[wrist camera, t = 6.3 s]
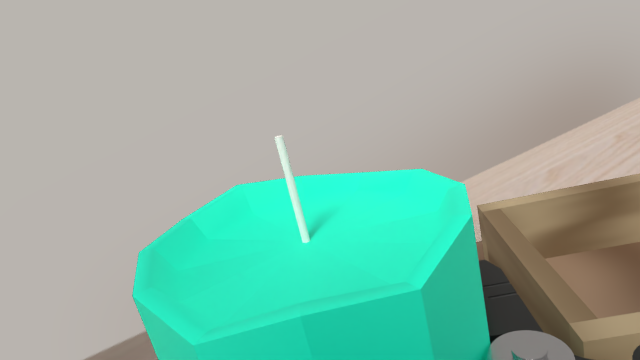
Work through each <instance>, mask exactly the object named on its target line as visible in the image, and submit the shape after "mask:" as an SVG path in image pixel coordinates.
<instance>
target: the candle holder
mask: <svg viewBox="0 0 640 360" xmlns="http://www.w3.org/2000/svg"><path fill="white" fill-rule="evenodd" d="M477 208H478V215H479V222H480V229H481V237H482V241H481V242H476V246H477V253H478V260H479V261H480V260H487V261H488V262H490V263H492V264H494V265H495V266H497V267H499V268H501V270H502V271H503V273H504V274H505V276H506V277H507V279H508V280H509V282H510V284H512V286H513V287H514V289H515V290H516V292H517V295H519V296H520V298H521V299H522V301H523V302H524V304H525V305H526V307H527V308H528V310H529V311H530V313H531V314H532V316H533V317H534V319H535V320H536V322H537V323H538V325H539V326H540V328H541V329H542V331H543V332H544V333H546V334H550V335H552V336H554V337H556V338H558V339H560V340H561V341H563V342H564V343H565V344H566V345H567V346H568V347H569V348H570V349H571V350H572V352H573V354H574V355H576V356H580V357H583V358H588V359H593V360H632V355H633V352H634V350H635V349H636V348H637V347H638V346H639V345H640V174H635V175H630V176H625V177H620V178H615V179H610V180H605V181H600V182H594V183H589V184H584V185H579V186H574V187H569V188H564V189H559V190H554V191H548V192H543V193H538V194H533V195H528V196H523V197H518V198H513V199H508V200H503V201H497V202H492V203H487V204H482V205H477Z"/></svg>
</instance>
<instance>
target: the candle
mask: <svg viewBox="0 0 640 360" xmlns="http://www.w3.org/2000/svg"><path fill="white" fill-rule="evenodd" d="M275 141H276V145H277V149H278V152H279V156H280V160H281V164H282V167H283V171H284V175H285V178H283V179H275V180H268V181H262V182H255V183H247V184H240V185H236V186H234V187H233V188H231V189H230V190H228V191H226V192H225V193H224V194H222V195H220V196H219V197H217V198H215V199H214V200H212V201H211V202H209V203H207V204H206V205H204V206H203V207H201V208H199V209H198V210H197V211H195V212H193V213H192V214H190V215H189V216H187V217H185V218H184V219H182V220H181V221H179V222H178V223H177V224H176V225H174V226H173V227H172V228H170V229H169V230H168V231H166V232H165V233H164V234H163V235H161V236H160V237H159V238H157V239H156V240H155V241H153V242H152V243H151V244H150V245H148V246H147V247H145V248H144V249H143V250H142V251H140V252H139V255H138V262H137V268H136V275H135V281H134V288H133V295H132V296H133V299H134V301H135V304H136V306H137V308H138V311H139V313H140V316H141V318H142V321H143V323H144V325H145V328H146V331H147V333H148V335H149V338H150V340H151V343H152V345H153V348H154V350H155V353H156V355H157V358H158V360H487V355H488V349H489V347H490V345H491V344H490V337H489V330H488V323H487V316H486V309H485V302H484V295H483V288H482V281H481V274H480V267H479V260H478V253H477V246H476V239H475V232H474V225H473V218H472V213H471V208H470V204H469V200H468V195H467V191H466V187H465V184H463V183H460V182H457V181H454V180H451V179H449V178H446V177H443V176H440V175H438V174H435V173H432V172H429V171H427V170H424V169H411V170H396V171H379V172H362V173H344V174H327V175H308V176H297V177H293V173H292V169H291V165H290V161H289V158H288V154H287V150H286V146H285V142H284V139H283V135H279V136H276V137H275Z"/></svg>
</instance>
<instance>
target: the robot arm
mask: <svg viewBox="0 0 640 360" xmlns="http://www.w3.org/2000/svg"><path fill="white" fill-rule="evenodd" d="M479 267H480V274H481V281H482V288H483V295H484V302H485V309H486V316H487V323H488V330H489V337H490V344H491V345H490V347H489V349H488V355H487V360H593V359H588V358H583V357H580V356H576V355H574V354H573V352H572V350H571V349H570V348H569V347H568V346H567V345H566V344H565V343H564V342H563V341H561V340H560V339H558V338H556V337H554V336H552V335H550V334H546V333H544V332H543V331H542V329H541V328H540V326H539V325H538V323H537V322H536V320H535V319H534V317H533V316H532V314H531V313H530V311H529V310H528V308H527V307H526V305H525V304H524V302H523V301H522V299H521V298H520V296H519V295H517V292H516V290H515V289H514V287H513V286H512V284H510V282H509V280H508V279H507V277H506V276H505V274H504V273H503V271H502V270H501V268H499V267H497V266H495V265H494V264H492V263H490V262H488V261H487V260H480V261H479ZM632 360H640V345H639V346H638V347H637V348H636V349H635V350H634V352H633V355H632Z"/></svg>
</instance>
